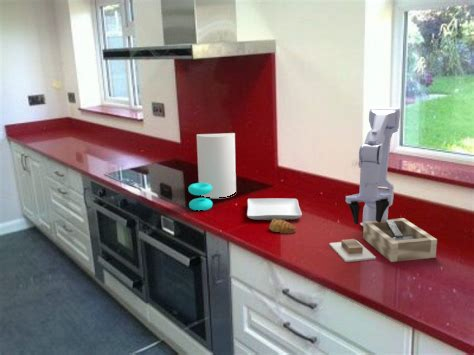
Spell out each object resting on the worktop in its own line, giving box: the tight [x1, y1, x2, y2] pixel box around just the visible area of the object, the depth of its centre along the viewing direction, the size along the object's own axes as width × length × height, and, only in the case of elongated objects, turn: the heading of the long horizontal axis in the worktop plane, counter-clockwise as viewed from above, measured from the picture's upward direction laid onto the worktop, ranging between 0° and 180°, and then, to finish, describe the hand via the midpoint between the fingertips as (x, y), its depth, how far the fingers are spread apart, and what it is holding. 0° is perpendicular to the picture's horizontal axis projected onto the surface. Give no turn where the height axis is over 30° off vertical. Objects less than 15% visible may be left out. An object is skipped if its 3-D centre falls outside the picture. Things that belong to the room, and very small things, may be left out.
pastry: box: [268, 219, 297, 234], centre depth 173 cm, size 9×7×4 cm
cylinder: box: [196, 132, 237, 199], centre depth 218 cm, size 17×17×28 cm
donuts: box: [187, 182, 214, 212], centre depth 200 cm, size 10×10×10 cm
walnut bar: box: [340, 238, 363, 254], centre depth 154 cm, size 7×4×2 cm, turn 8°
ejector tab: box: [386, 219, 416, 241], centre depth 155 cm, size 14×10×2 cm
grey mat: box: [328, 240, 377, 263], centre depth 154 cm, size 14×10×1 cm
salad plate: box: [246, 197, 303, 221], centre depth 192 cm, size 21×21×3 cm
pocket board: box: [362, 217, 438, 263], centre depth 156 cm, size 20×15×6 cm
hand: (367, 222), depth 153 cm, fingers open, 7 cm apart
